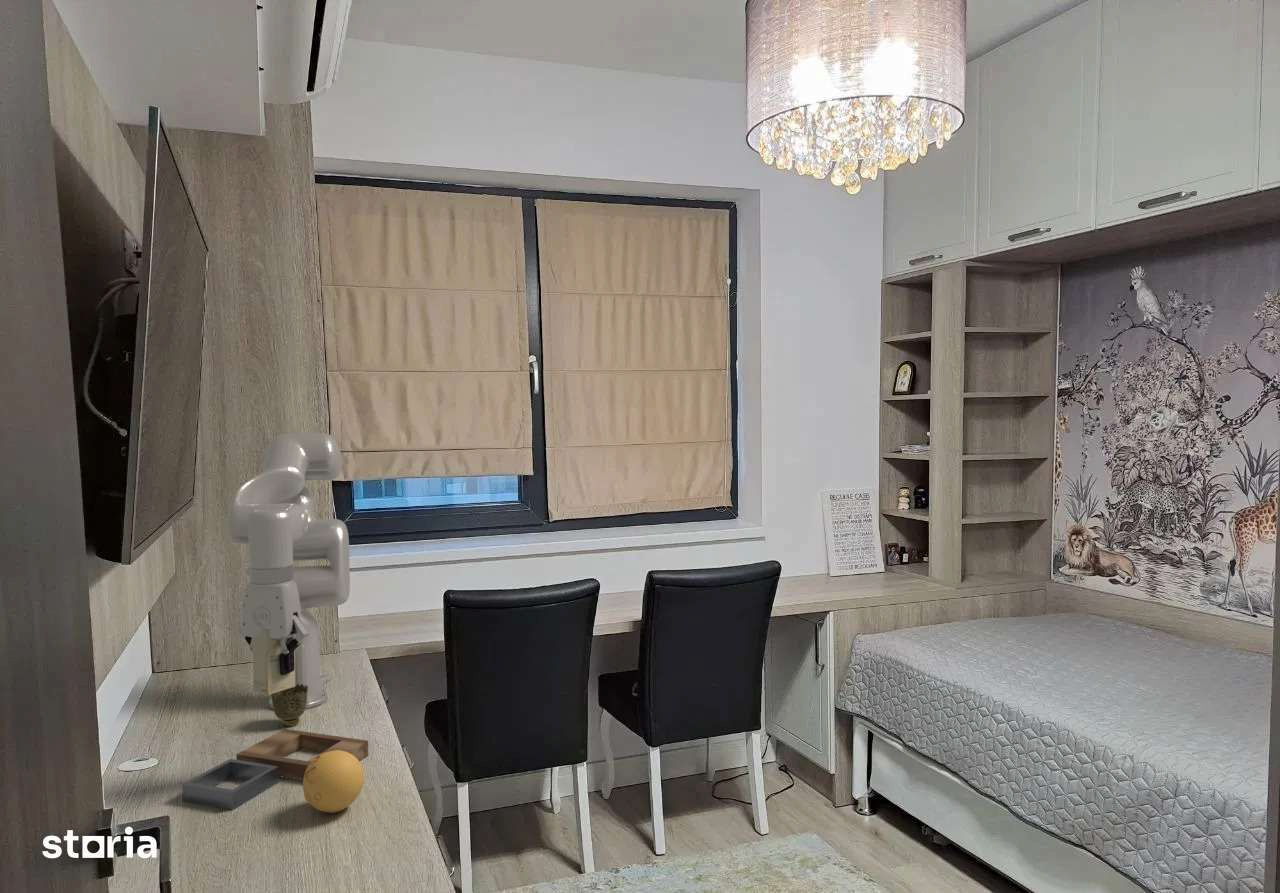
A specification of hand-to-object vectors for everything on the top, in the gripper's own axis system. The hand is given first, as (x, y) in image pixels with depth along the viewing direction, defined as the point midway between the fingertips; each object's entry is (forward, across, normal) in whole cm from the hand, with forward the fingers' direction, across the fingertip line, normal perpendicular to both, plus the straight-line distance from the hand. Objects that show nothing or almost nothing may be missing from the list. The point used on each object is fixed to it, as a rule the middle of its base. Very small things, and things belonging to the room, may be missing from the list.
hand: (274, 670), depth 157 cm
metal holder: (+20, -3, -8) cm, 22 cm away
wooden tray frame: (+20, +2, +6) cm, 20 cm away
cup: (+20, -14, +21) cm, 32 cm away
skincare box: (+4, 0, 0) cm, 4 cm away
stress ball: (+20, +19, -9) cm, 29 cm away
